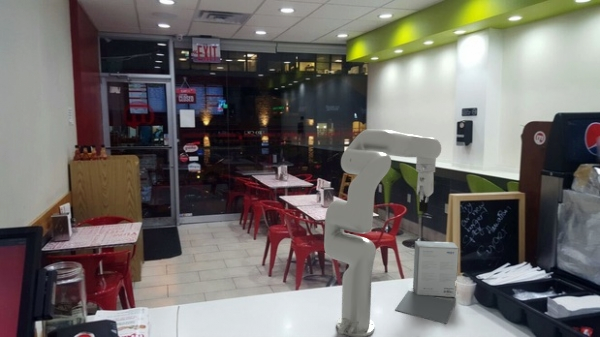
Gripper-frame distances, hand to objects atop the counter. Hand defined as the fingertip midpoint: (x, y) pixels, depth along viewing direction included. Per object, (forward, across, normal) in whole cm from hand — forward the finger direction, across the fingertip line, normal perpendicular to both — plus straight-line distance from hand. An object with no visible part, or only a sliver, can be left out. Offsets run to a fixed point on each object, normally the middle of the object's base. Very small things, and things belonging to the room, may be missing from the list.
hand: (423, 211), depth 168 cm
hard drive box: (+31, -9, -8) cm, 33 cm away
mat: (+30, -22, -7) cm, 38 cm away
